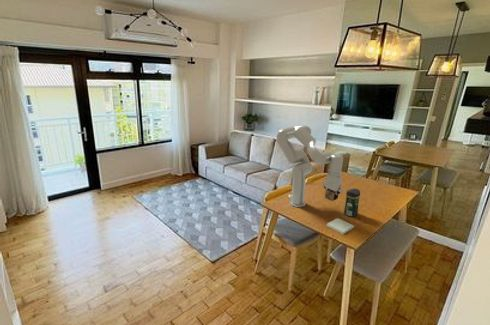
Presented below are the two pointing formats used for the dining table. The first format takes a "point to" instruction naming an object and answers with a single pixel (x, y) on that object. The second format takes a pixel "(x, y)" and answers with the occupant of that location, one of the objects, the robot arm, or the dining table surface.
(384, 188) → the dining table surface
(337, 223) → the plate
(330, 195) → the walnut cube
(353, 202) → the coffee jar
